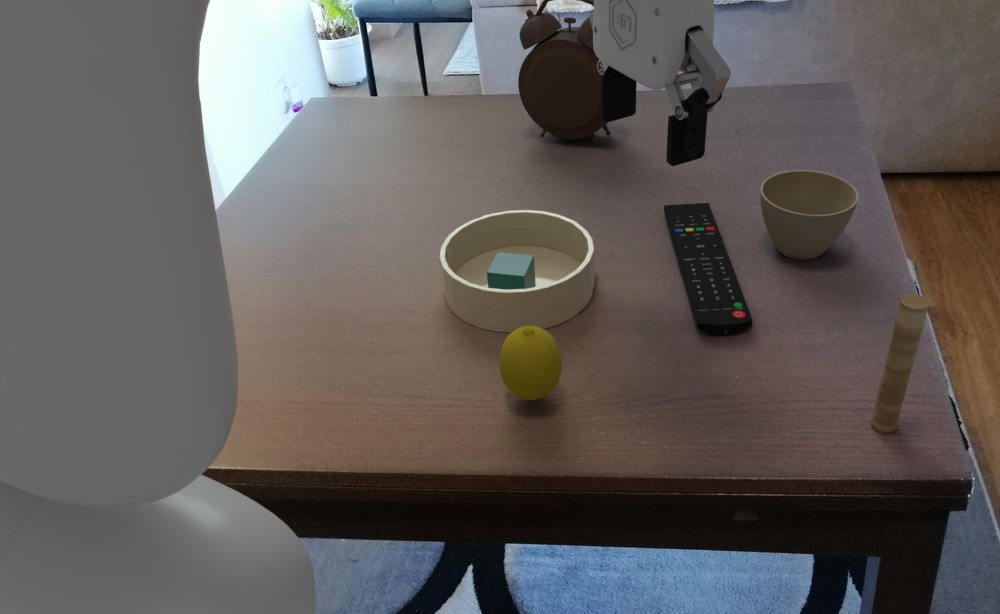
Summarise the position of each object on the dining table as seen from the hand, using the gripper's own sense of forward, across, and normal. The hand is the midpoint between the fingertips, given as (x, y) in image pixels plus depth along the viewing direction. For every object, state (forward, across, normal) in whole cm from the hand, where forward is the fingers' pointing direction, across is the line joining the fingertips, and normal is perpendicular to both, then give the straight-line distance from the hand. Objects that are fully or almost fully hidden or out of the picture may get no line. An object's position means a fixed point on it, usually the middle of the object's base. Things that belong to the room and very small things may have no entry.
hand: (650, 138), depth 72 cm
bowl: (+22, -16, -6) cm, 28 cm away
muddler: (+22, +19, +12) cm, 32 cm away
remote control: (+22, -9, +13) cm, 28 cm away
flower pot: (+22, -6, +25) cm, 34 cm away
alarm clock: (+22, -46, +18) cm, 54 cm away
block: (+22, -14, -7) cm, 27 cm away
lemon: (+22, +1, -12) cm, 26 cm away
